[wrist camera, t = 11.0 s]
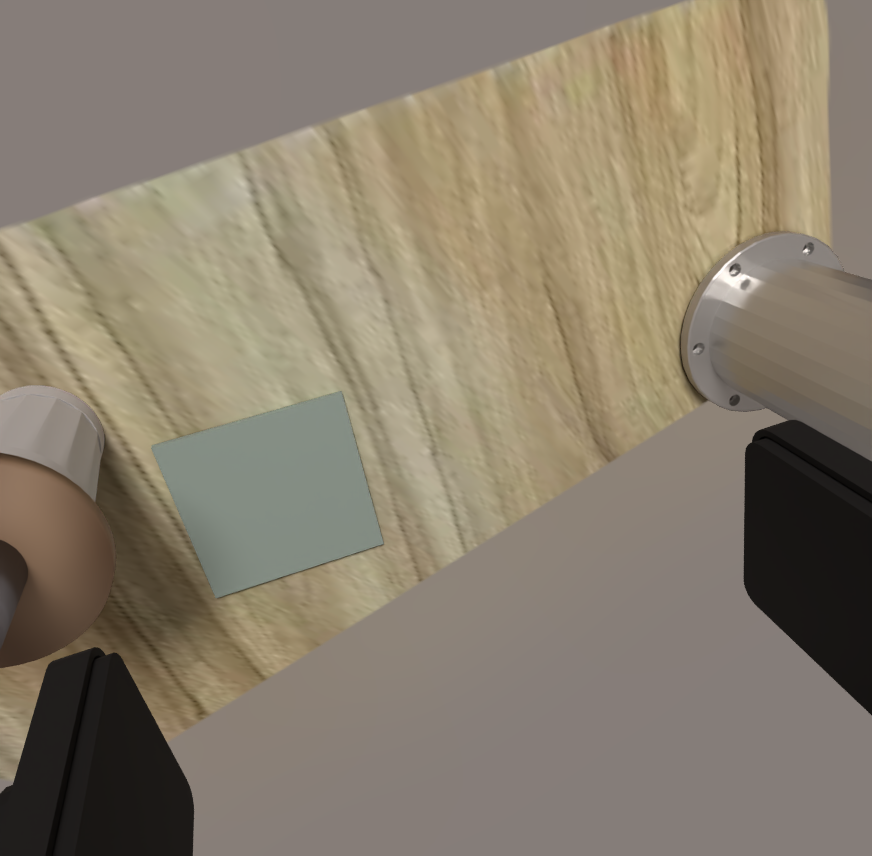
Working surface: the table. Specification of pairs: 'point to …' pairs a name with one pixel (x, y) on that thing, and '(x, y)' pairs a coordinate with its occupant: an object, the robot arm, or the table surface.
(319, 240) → the table surface
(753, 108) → the table surface
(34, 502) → the lid
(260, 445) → the mat
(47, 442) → the cup
